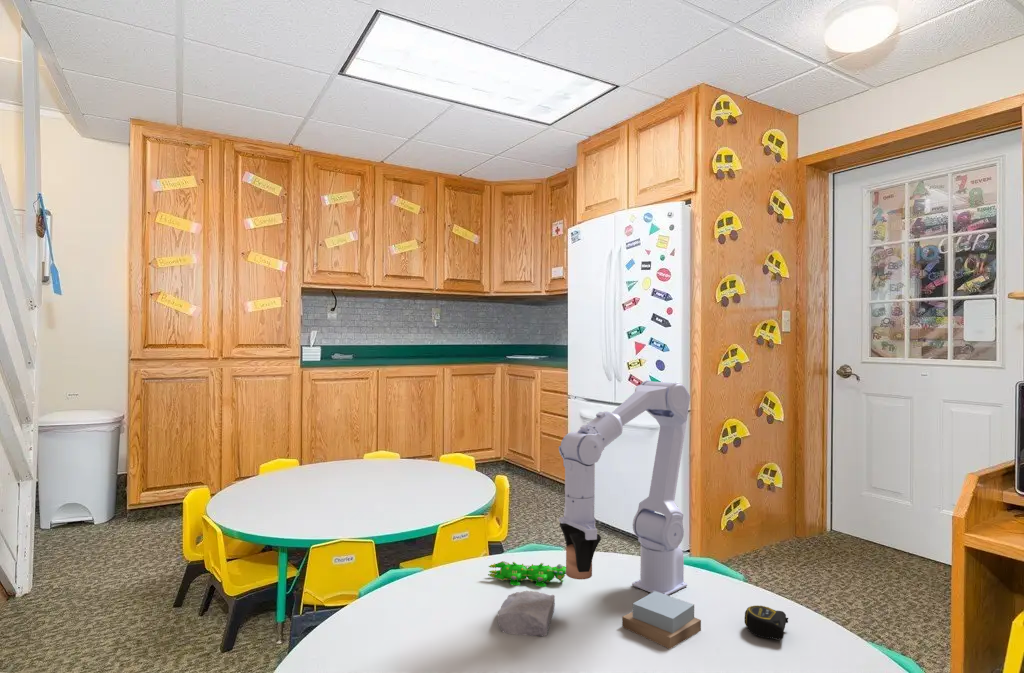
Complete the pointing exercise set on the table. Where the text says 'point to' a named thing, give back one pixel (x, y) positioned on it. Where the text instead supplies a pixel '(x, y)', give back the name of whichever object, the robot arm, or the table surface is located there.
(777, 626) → the tape measure
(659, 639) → the tower base
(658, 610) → the tower top
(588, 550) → the robot arm
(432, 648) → the table surface
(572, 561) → the brown cylinder
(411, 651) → the table surface
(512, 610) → the stone block
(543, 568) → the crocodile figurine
